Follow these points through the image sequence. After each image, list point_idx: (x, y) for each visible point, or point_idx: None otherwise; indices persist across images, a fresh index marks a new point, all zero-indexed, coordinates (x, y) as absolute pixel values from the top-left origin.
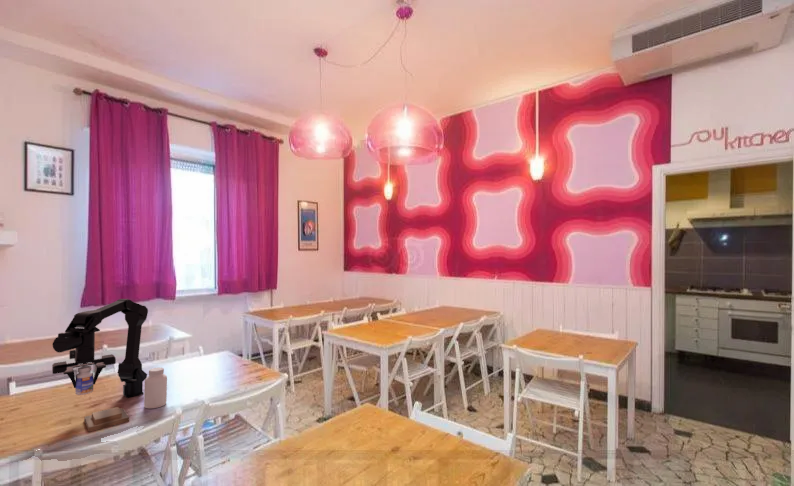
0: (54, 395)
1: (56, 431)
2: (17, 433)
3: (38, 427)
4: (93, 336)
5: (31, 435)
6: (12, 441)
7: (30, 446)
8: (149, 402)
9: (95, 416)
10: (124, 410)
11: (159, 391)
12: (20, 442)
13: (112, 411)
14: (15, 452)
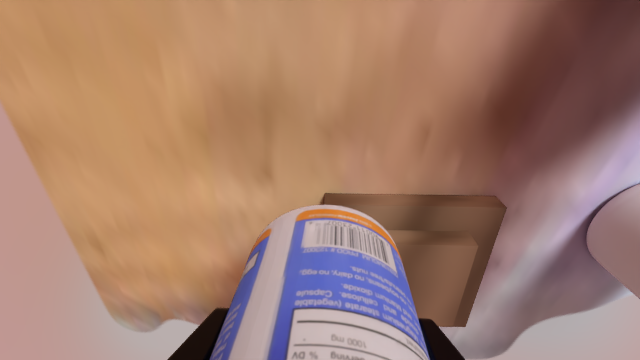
0: None
1: (220, 231)
2: (58, 139)
3: (132, 125)
4: None
5: (131, 206)
6: (77, 218)
7: (158, 297)
8: (617, 278)
9: None
10: (491, 250)
11: None
12: (113, 246)
13: (433, 285)
14: (127, 309)
